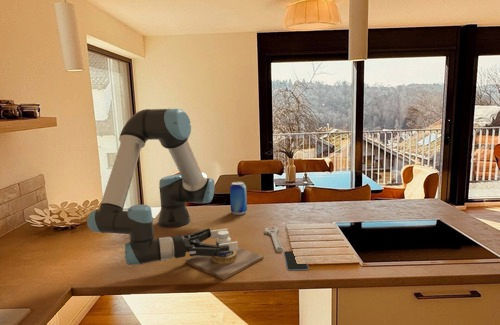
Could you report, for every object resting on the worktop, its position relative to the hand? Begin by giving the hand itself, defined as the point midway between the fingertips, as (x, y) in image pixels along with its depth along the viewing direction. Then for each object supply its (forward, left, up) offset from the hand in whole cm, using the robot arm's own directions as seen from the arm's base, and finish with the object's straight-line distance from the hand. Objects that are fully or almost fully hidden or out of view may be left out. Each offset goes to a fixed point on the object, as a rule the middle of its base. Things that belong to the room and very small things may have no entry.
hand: (232, 238), depth 124 cm
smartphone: (+18, +13, -9) cm, 24 cm away
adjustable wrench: (0, +24, -9) cm, 25 cm away
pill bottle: (-2, -3, -7) cm, 8 cm away
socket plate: (-2, -3, -8) cm, 9 cm away
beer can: (-37, +41, -8) cm, 56 cm away
